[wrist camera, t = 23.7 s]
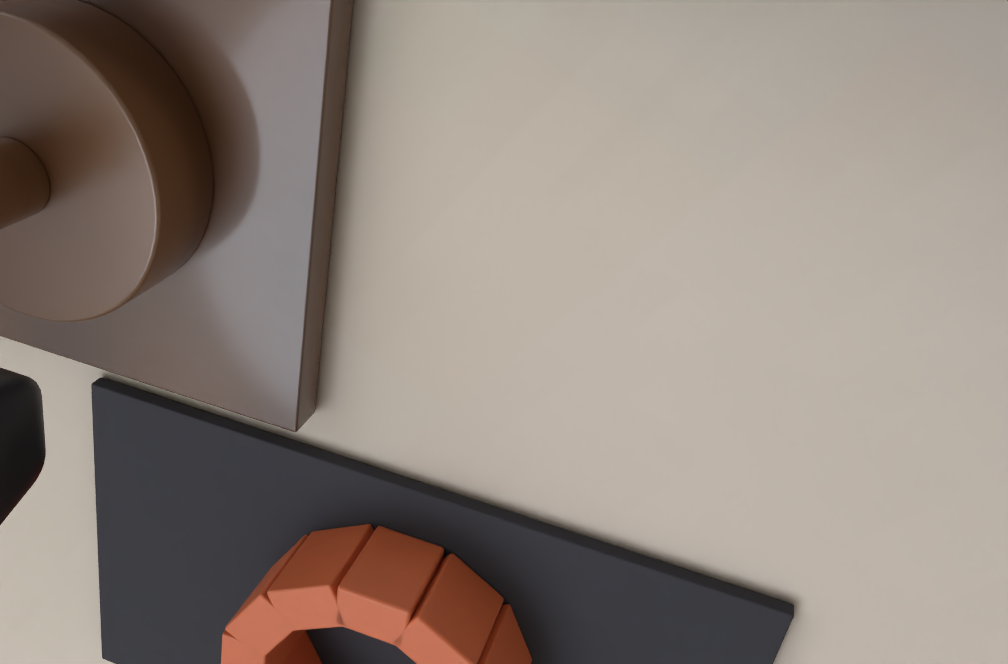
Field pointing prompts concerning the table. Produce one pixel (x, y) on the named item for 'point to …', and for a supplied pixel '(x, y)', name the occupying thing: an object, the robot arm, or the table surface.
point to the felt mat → (380, 502)
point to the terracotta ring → (374, 603)
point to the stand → (174, 190)
